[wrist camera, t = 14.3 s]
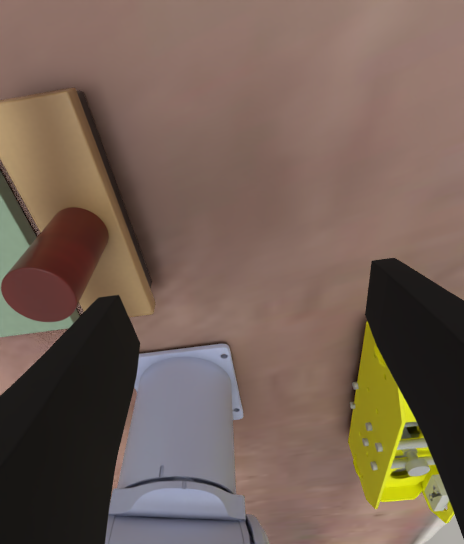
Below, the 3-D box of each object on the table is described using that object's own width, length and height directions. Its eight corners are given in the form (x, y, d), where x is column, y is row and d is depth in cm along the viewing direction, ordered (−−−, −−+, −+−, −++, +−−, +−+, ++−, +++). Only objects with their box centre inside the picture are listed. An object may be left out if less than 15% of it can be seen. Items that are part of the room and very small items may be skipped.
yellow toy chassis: (401, 427, 33) (448, 531, 27) (342, 433, 34) (374, 537, 27) (440, 304, 24) (529, 415, 17) (358, 313, 24) (413, 427, 17)
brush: (89, 80, 15) (4, 120, 9) (160, 284, 22) (138, 386, 16) (6, 95, 15) (-131, 143, 9) (102, 292, 22) (59, 396, 16)
